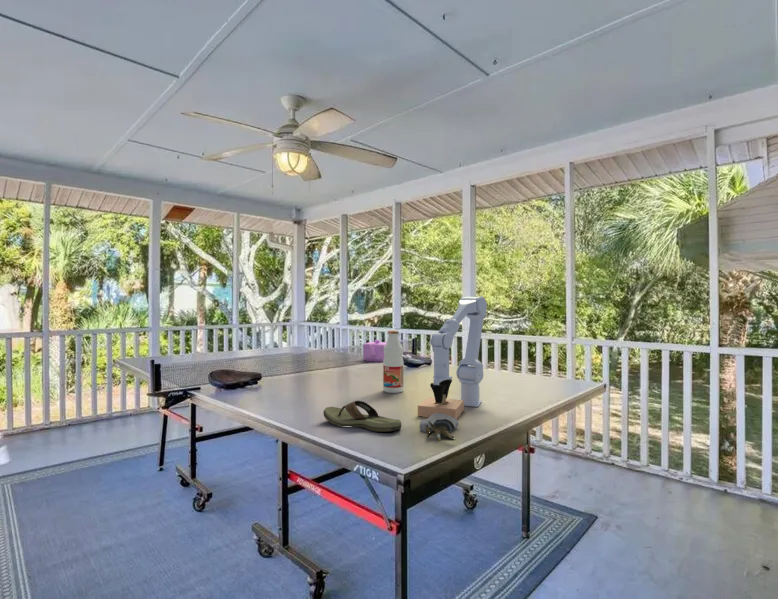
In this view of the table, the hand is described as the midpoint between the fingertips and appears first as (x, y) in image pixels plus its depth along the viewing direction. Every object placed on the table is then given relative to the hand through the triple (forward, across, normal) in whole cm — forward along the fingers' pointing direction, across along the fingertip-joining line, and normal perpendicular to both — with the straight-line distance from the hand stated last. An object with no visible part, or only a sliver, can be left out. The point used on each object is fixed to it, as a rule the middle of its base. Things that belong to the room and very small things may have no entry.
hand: (441, 400), depth 165 cm
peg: (+5, 0, 0) cm, 5 cm away
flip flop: (+5, -25, +21) cm, 33 cm away
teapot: (+5, +113, +77) cm, 137 cm away
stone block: (+5, -19, -5) cm, 20 cm away
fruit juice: (+5, +29, +31) cm, 43 cm away
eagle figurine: (+5, -28, -7) cm, 29 cm away
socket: (+5, 0, 0) cm, 5 cm away
